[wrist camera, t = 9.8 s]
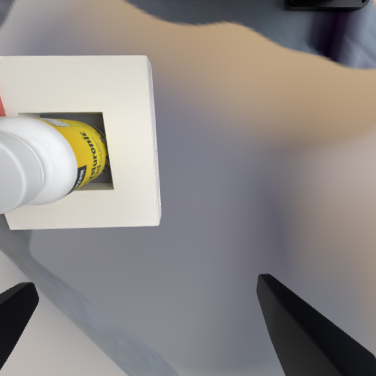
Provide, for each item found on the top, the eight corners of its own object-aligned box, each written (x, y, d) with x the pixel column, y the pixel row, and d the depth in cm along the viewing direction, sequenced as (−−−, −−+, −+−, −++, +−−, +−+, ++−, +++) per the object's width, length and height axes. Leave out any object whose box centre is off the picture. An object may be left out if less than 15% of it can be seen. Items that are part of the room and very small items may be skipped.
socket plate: (151, 66, 16) (145, 53, 13) (161, 214, 20) (158, 227, 17) (-17, 67, 15) (-60, 54, 13) (30, 217, 20) (6, 232, 17)
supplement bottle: (111, 181, 19) (42, 236, 9) (55, 172, 18) (-76, 221, 9) (114, 126, 17) (34, 125, 8) (53, 115, 17) (-111, 99, 7)
